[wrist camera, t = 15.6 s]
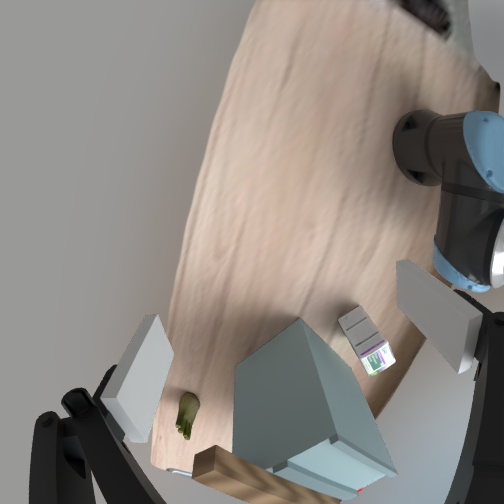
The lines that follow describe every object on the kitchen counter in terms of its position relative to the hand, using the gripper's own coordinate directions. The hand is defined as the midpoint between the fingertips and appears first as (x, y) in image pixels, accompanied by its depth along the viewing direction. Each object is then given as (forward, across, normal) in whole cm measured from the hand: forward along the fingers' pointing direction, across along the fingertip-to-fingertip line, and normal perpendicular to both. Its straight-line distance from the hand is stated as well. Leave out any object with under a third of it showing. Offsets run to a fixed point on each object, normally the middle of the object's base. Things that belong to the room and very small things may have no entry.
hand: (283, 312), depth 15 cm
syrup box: (+39, +15, -28) cm, 50 cm away
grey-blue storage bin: (+39, +1, -37) cm, 54 cm away
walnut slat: (+9, -5, -35) cm, 37 cm away
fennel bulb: (+39, -25, -41) cm, 62 cm away
